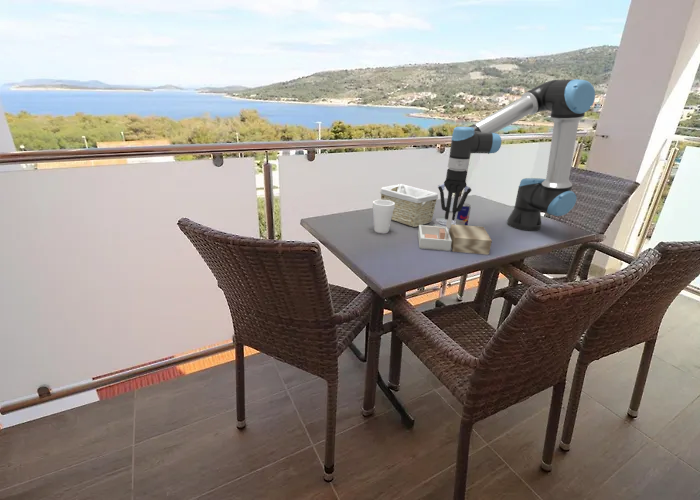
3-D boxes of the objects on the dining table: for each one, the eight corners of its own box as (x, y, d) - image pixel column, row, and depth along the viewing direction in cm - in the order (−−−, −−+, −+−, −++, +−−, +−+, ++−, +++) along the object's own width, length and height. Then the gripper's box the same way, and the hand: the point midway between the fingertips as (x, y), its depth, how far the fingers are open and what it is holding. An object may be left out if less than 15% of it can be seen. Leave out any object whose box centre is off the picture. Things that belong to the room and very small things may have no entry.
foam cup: (395, 229, 168) (397, 201, 163) (388, 236, 160) (390, 207, 155) (375, 225, 171) (377, 198, 166) (367, 232, 164) (369, 203, 158)
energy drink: (460, 232, 168) (464, 207, 163) (452, 228, 172) (456, 203, 168) (469, 231, 170) (473, 205, 166) (460, 227, 175) (465, 202, 170)
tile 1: (424, 233, 157) (424, 238, 158) (425, 238, 152) (424, 242, 153) (437, 234, 156) (436, 239, 157) (437, 239, 152) (437, 243, 153)
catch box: (445, 236, 162) (447, 227, 160) (450, 251, 147) (451, 240, 146) (417, 234, 163) (419, 224, 161) (419, 248, 149) (420, 238, 147)
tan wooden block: (480, 239, 161) (483, 226, 158) (488, 254, 146) (491, 240, 144) (447, 237, 162) (450, 224, 160) (452, 251, 147) (454, 237, 145)
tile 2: (444, 228, 155) (439, 228, 155) (445, 233, 150) (440, 232, 150) (442, 240, 157) (438, 239, 157) (443, 244, 152) (438, 244, 152)
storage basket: (376, 216, 186) (379, 186, 180) (398, 210, 196) (401, 182, 190) (414, 229, 170) (418, 198, 164) (435, 222, 180) (439, 192, 174)
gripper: (441, 169, 140) (432, 228, 149) (476, 172, 138) (466, 231, 148) (439, 166, 147) (431, 222, 156) (473, 168, 145) (463, 225, 155)
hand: (448, 226), depth 152 cm, fingers closed
